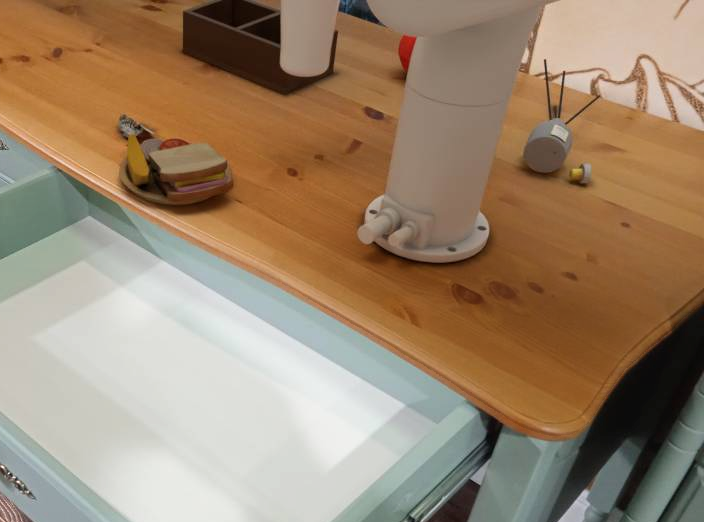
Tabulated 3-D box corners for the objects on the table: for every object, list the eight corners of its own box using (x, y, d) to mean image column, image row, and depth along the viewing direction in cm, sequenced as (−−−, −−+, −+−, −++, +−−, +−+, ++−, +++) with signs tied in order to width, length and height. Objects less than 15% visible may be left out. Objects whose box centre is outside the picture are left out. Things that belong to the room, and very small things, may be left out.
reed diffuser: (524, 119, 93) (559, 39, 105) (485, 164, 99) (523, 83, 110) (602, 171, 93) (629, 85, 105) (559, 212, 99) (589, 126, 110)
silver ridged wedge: (134, 142, 101) (152, 153, 103) (144, 124, 100) (162, 136, 102) (112, 129, 105) (130, 140, 107) (121, 112, 105) (139, 124, 107)
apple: (412, 60, 120) (422, 6, 115) (463, 76, 117) (476, 20, 112) (382, 78, 116) (392, 22, 111) (434, 95, 112) (446, 38, 107)
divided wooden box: (284, 95, 112) (288, 51, 108) (182, 52, 122) (182, 10, 118) (333, 73, 117) (338, 30, 113) (231, 34, 127) (232, -7, 123)
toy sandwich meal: (217, 146, 101) (218, 109, 97) (245, 209, 91) (248, 169, 88) (112, 156, 99) (110, 118, 96) (130, 220, 90) (128, 180, 86)
